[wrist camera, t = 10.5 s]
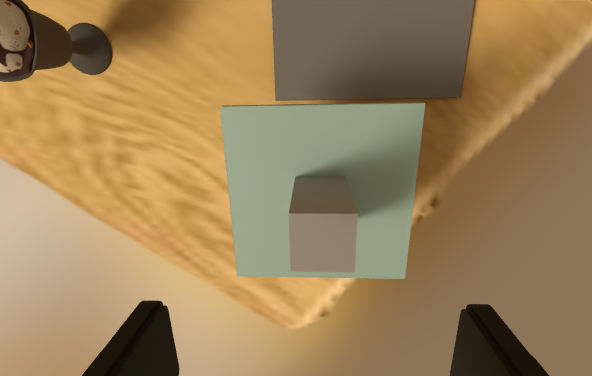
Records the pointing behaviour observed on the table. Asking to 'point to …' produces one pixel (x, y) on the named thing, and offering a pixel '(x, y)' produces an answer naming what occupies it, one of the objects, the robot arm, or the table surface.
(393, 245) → the lid
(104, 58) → the sundae
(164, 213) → the table surface
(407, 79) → the mat
